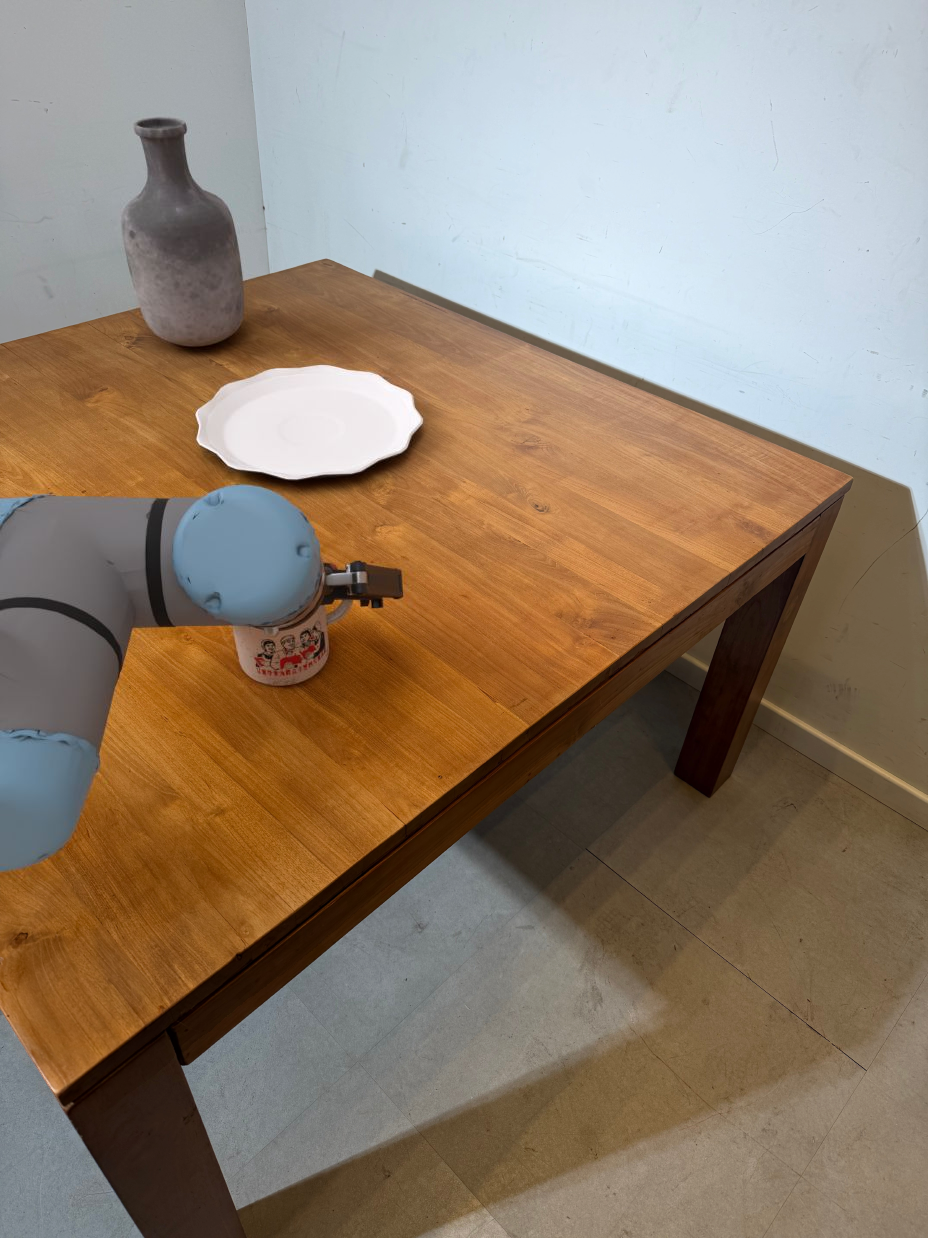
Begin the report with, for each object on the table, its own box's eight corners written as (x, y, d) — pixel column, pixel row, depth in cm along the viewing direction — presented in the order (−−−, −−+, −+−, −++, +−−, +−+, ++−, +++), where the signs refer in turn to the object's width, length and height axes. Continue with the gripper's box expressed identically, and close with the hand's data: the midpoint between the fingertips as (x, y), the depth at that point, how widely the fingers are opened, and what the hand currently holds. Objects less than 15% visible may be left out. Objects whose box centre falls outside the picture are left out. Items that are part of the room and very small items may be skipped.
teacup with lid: (255, 702, 77) (237, 608, 69) (224, 641, 82) (204, 547, 74) (374, 660, 81) (369, 567, 73) (337, 604, 87) (329, 512, 79)
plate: (465, 437, 113) (465, 421, 111) (285, 522, 97) (283, 505, 95) (330, 361, 128) (329, 346, 126) (156, 425, 112) (152, 408, 110)
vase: (193, 310, 139) (154, 103, 119) (271, 331, 134) (245, 119, 114) (123, 345, 129) (68, 125, 108) (206, 370, 124) (165, 144, 103)
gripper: (89, 643, 57) (159, 646, 78) (450, 617, 60) (424, 627, 81) (82, 534, 57) (154, 566, 78) (442, 514, 61) (418, 550, 82)
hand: (292, 597), depth 80 cm, fingers open, 13 cm apart
